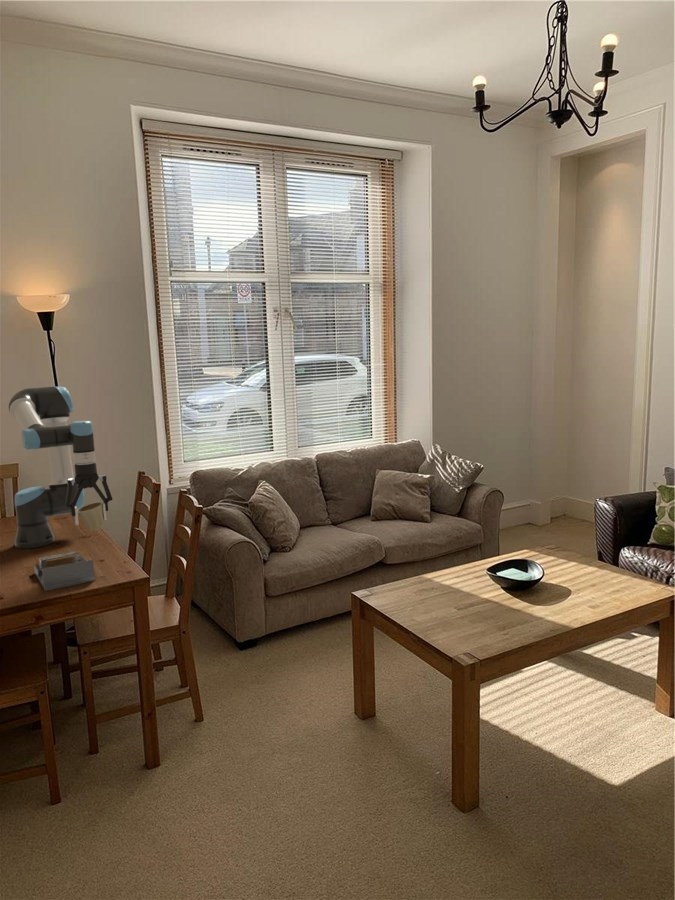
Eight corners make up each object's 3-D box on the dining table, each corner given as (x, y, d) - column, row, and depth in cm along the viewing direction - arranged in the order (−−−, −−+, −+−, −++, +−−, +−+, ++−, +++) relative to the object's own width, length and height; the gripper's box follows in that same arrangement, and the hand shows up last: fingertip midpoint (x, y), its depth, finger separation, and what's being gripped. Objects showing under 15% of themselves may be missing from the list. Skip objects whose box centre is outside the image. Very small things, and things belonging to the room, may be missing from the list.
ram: (40, 568, 237) (39, 557, 237) (77, 561, 244) (76, 550, 243) (42, 571, 234) (41, 561, 233) (79, 564, 240) (78, 553, 240)
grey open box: (34, 573, 239) (32, 553, 237) (81, 564, 247) (79, 544, 246) (45, 591, 220) (42, 569, 219) (94, 580, 228) (92, 559, 227)
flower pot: (113, 520, 252) (106, 499, 250) (102, 530, 243) (94, 509, 241) (91, 525, 254) (83, 504, 251) (79, 535, 245) (71, 514, 242)
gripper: (55, 468, 234) (61, 529, 238) (118, 460, 246) (123, 519, 250) (51, 465, 241) (57, 525, 244) (112, 458, 252) (118, 515, 256)
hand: (91, 522), depth 247 cm, fingers closed on flower pot, 9 cm apart
